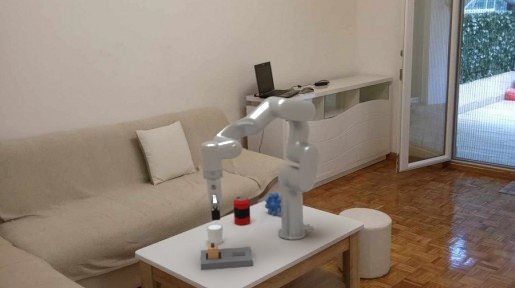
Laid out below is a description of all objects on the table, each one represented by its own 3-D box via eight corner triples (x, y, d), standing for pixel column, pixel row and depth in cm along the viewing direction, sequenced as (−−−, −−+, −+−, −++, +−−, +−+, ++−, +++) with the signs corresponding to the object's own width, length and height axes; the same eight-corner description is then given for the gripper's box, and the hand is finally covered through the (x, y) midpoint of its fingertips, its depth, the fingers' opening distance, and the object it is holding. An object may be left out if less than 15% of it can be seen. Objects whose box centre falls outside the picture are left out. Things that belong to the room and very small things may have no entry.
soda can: (241, 218, 241) (239, 194, 239) (253, 221, 237) (252, 197, 234) (231, 223, 235) (230, 199, 233) (243, 226, 231) (242, 202, 228)
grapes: (289, 215, 243) (289, 191, 241) (281, 219, 238) (280, 195, 236) (270, 210, 251) (270, 187, 248) (262, 214, 246) (261, 191, 243)
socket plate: (250, 252, 204) (250, 246, 204) (252, 265, 193) (252, 259, 192) (201, 256, 203) (201, 250, 202) (201, 269, 191) (200, 263, 190)
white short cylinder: (226, 239, 218) (225, 224, 216) (219, 246, 211) (219, 230, 210) (211, 238, 220) (210, 223, 218) (205, 244, 214) (204, 229, 212)
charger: (218, 259, 199) (217, 240, 197) (218, 263, 195) (217, 245, 194) (208, 260, 199) (207, 241, 197) (208, 264, 195) (207, 245, 193)
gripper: (223, 179, 183) (226, 222, 187) (221, 166, 200) (224, 206, 204) (202, 181, 182) (206, 224, 186) (202, 167, 199) (206, 208, 203)
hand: (215, 215), depth 195 cm, fingers open, 9 cm apart
